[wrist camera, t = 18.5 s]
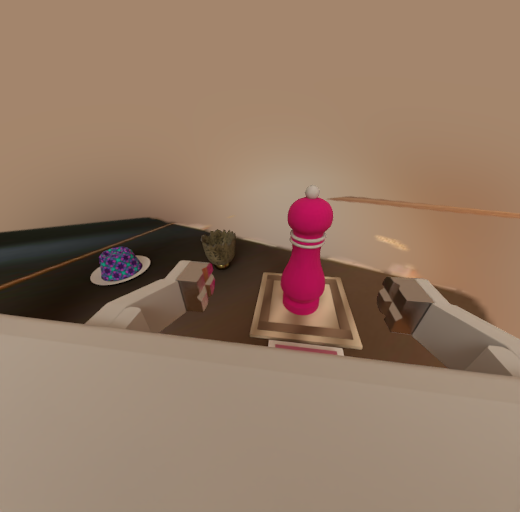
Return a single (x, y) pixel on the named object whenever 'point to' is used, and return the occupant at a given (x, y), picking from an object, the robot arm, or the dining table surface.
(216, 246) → the cup
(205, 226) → the dining table surface
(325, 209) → the pepper mill
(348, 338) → the board
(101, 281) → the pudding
